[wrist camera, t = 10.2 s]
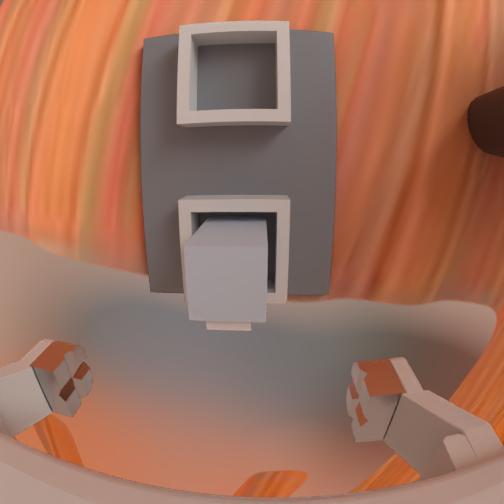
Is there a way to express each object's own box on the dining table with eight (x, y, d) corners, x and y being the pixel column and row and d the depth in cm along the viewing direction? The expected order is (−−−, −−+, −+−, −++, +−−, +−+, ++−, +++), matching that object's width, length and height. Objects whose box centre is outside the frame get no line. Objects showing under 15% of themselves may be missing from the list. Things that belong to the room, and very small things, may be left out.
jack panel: (330, 37, 20) (340, 20, 16) (326, 289, 25) (335, 309, 22) (148, 42, 20) (132, 28, 17) (154, 287, 26) (140, 305, 22)
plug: (265, 216, 23) (267, 246, 15) (265, 279, 24) (266, 335, 16) (209, 216, 23) (183, 246, 15) (211, 279, 24) (190, 333, 16)
